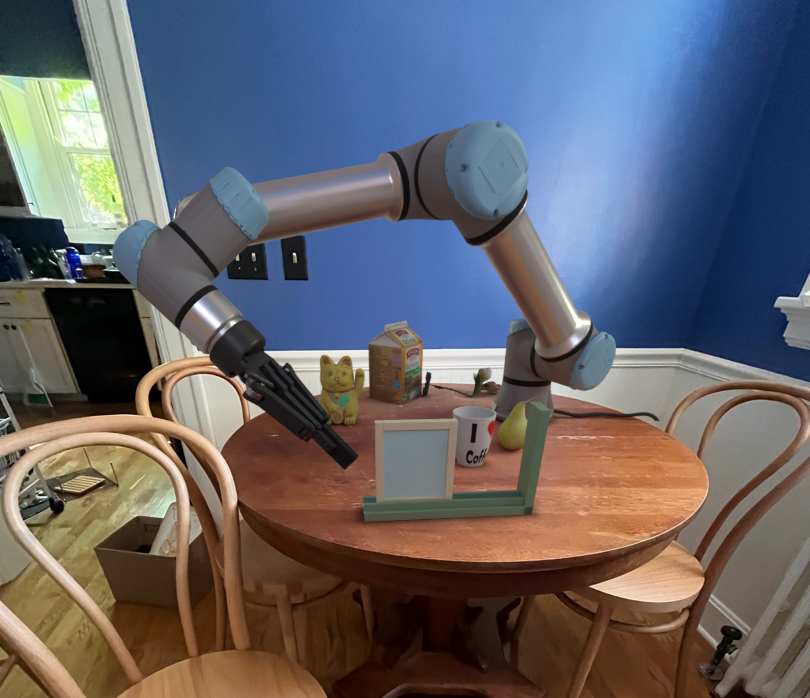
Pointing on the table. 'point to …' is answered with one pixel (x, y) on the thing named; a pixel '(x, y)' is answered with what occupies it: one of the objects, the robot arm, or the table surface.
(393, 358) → the milk carton
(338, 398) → the figurine
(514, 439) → the fruit
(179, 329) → the robot arm
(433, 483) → the window pane
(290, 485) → the table surface
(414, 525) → the table surface
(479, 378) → the artificial flower
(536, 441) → the green l-shaped bracket
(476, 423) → the cup
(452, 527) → the table surface
